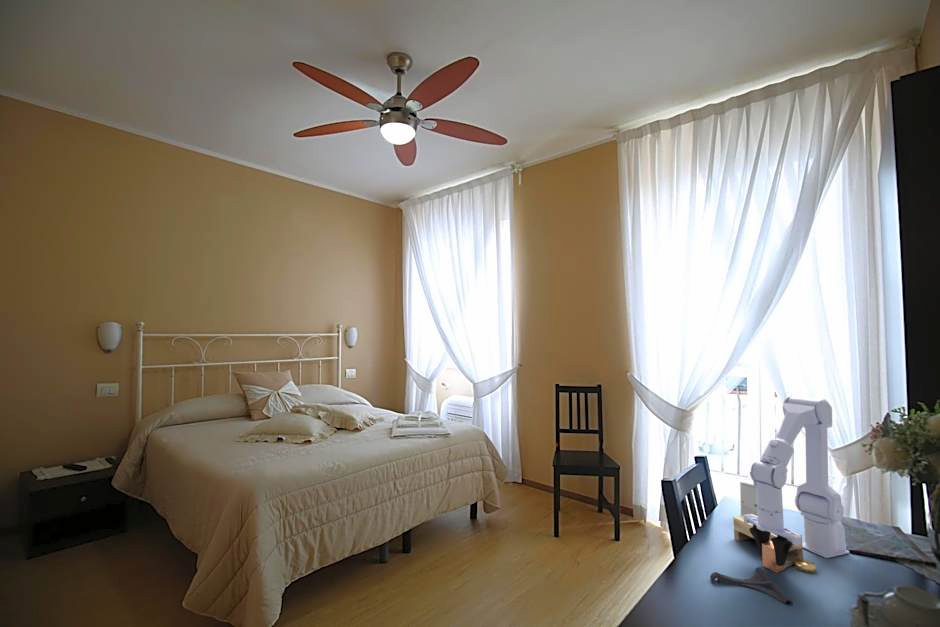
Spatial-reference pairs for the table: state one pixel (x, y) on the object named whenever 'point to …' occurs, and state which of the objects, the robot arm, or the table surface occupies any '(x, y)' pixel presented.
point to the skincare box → (748, 498)
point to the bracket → (754, 584)
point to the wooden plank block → (744, 533)
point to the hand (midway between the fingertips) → (772, 560)
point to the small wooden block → (770, 559)
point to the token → (805, 565)
